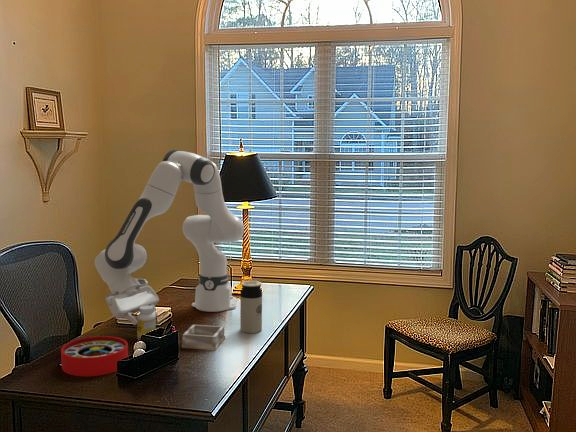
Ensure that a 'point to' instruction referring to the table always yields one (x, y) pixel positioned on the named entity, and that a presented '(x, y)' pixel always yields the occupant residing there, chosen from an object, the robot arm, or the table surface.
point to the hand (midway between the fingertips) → (146, 320)
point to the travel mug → (251, 307)
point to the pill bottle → (145, 321)
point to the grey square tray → (203, 337)
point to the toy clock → (93, 355)
